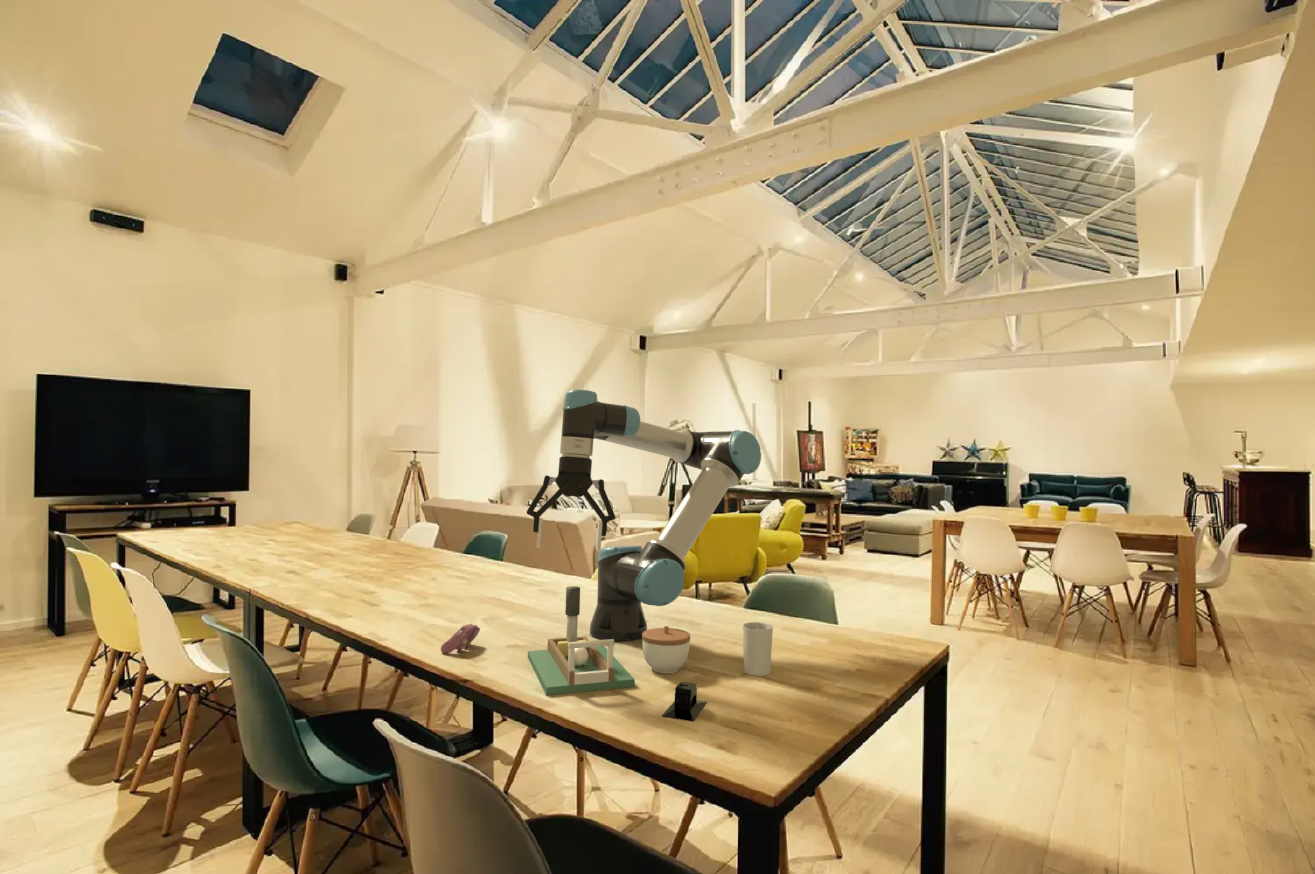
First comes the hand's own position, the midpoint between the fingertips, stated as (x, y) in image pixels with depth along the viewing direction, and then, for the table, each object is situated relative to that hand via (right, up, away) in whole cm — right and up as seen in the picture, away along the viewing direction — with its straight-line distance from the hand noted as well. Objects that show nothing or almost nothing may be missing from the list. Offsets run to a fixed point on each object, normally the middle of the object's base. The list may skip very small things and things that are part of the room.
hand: (568, 549), depth 150 cm
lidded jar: (+22, -26, -5) cm, 35 cm away
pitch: (+3, -25, -8) cm, 27 cm away
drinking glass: (+42, -26, -5) cm, 50 cm away
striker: (+1, -24, -2) cm, 24 cm away
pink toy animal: (-27, -25, +7) cm, 37 cm away
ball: (+4, -22, -9) cm, 24 cm away
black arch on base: (+26, -26, -28) cm, 46 cm away
